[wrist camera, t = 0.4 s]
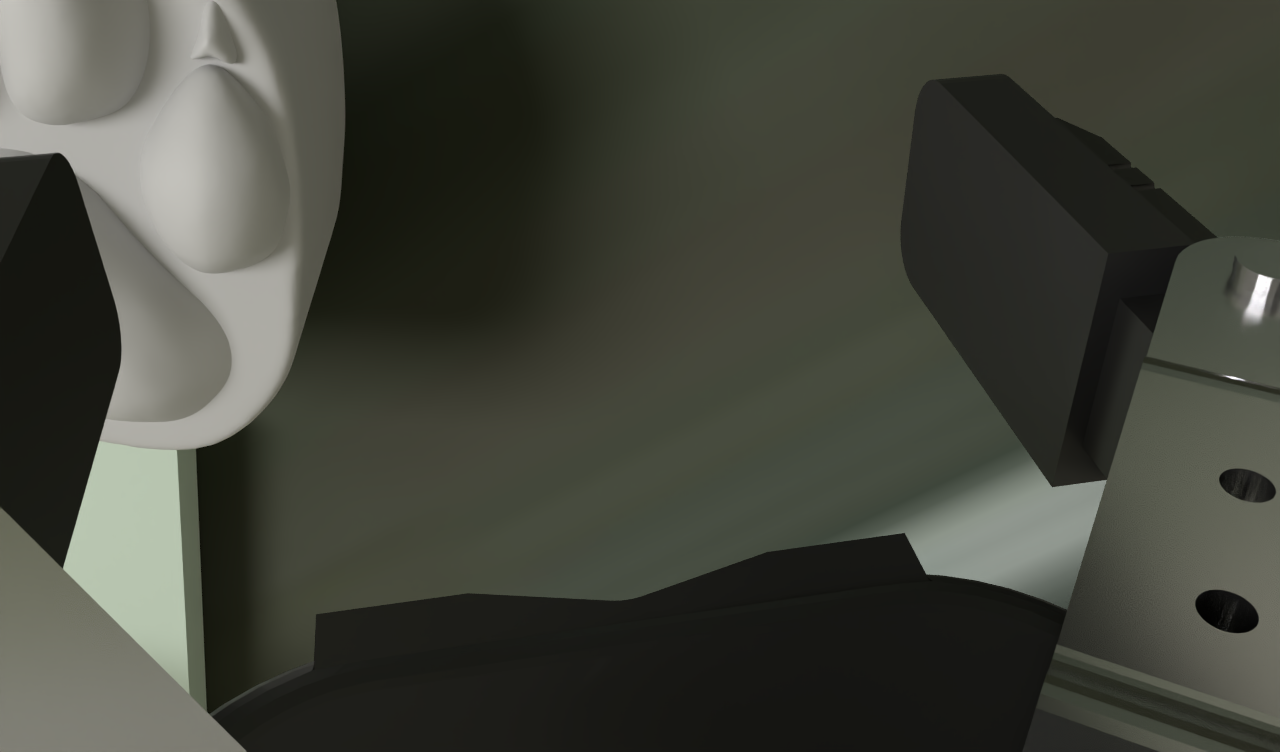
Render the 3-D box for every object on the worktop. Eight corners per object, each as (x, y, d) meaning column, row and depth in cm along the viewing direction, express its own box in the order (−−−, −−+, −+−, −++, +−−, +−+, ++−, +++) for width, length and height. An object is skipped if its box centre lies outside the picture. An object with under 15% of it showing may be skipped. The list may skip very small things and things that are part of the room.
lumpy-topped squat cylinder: (-73, 287, 31) (-259, 491, 23) (-207, -306, 24) (-526, -287, 17) (352, 303, 32) (304, 500, 24) (333, -256, 25) (261, -218, 18)
